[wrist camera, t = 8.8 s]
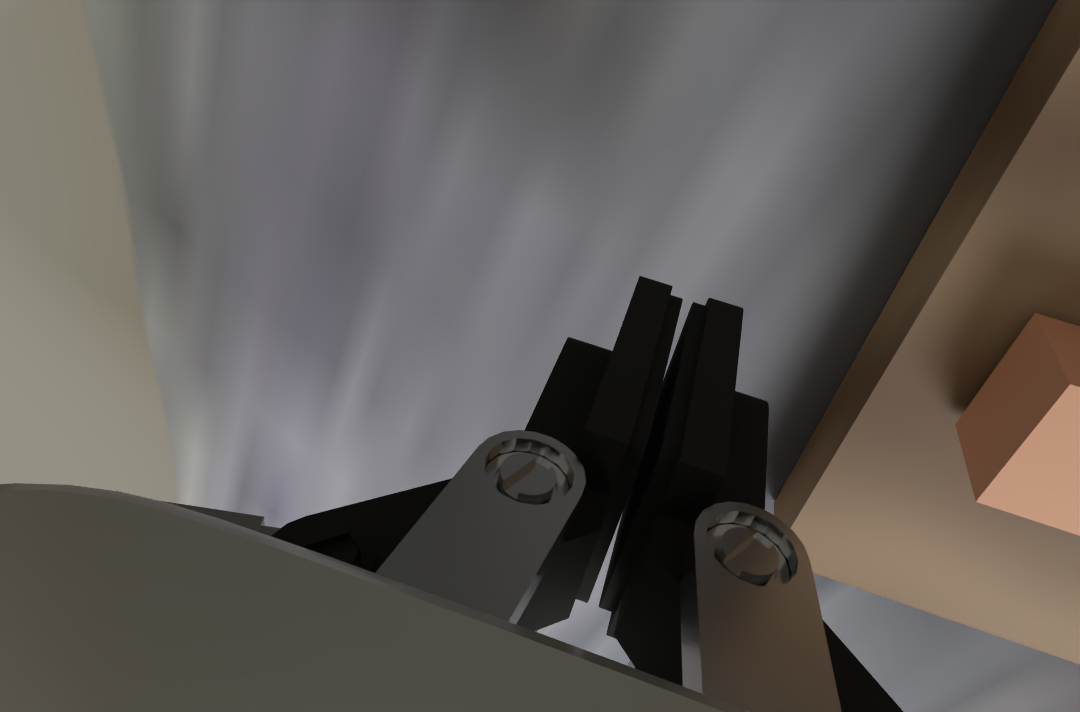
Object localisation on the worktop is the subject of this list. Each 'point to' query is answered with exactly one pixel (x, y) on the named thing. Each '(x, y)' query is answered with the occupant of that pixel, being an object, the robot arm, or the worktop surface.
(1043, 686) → the worktop surface
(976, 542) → the walnut cutting board
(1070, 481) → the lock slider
